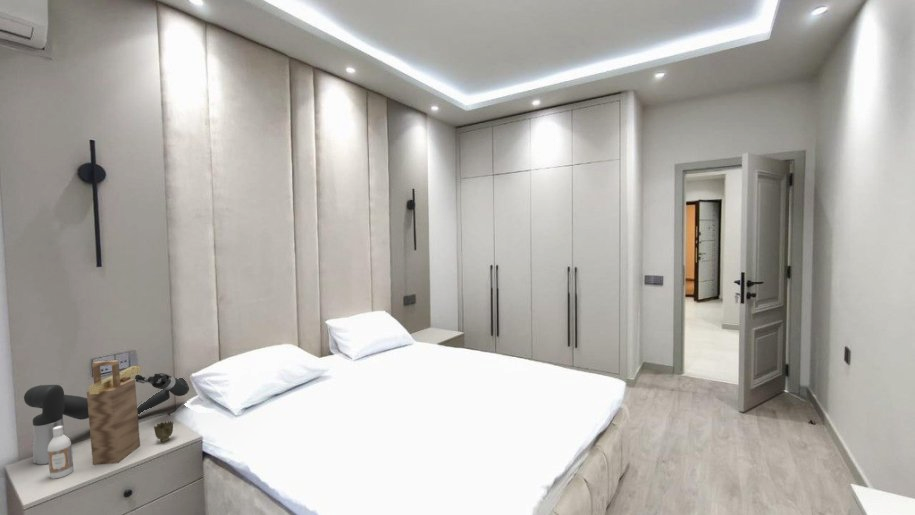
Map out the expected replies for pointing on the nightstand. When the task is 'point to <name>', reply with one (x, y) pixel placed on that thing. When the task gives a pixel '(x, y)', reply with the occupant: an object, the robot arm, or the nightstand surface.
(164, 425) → the cup
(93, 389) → the gold square bar
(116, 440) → the walnut stand
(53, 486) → the nightstand surface
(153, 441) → the nightstand surface
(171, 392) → the robot arm
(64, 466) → the bath foam
